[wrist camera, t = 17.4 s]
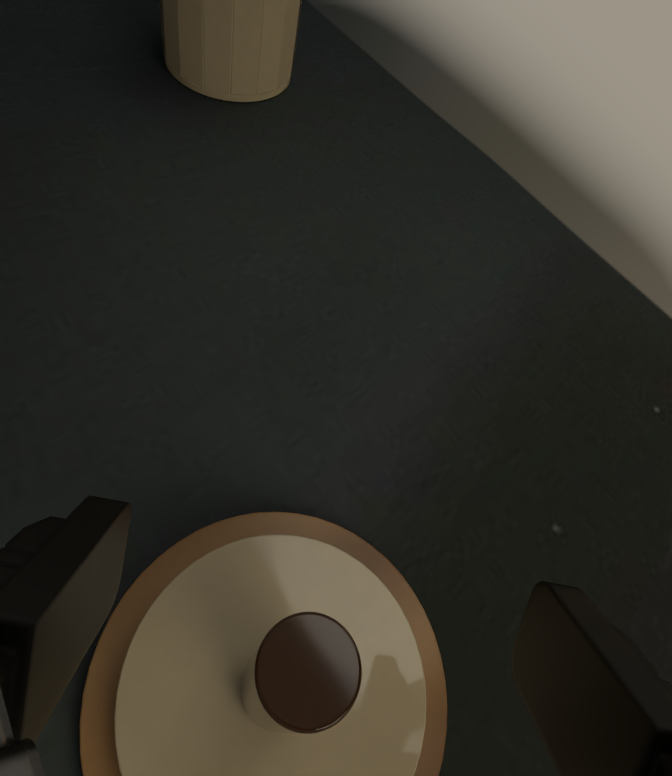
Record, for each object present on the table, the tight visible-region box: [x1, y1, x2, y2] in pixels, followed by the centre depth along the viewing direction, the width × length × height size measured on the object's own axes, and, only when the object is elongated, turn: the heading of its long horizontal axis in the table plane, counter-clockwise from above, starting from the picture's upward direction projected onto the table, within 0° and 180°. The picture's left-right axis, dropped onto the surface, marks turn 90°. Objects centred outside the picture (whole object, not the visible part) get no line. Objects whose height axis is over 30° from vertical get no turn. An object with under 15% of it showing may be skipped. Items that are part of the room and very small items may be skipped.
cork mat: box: [79, 512, 447, 776], centre depth 15 cm, size 10×10×1 cm
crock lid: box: [114, 534, 427, 776], centre depth 12 cm, size 8×8×6 cm
